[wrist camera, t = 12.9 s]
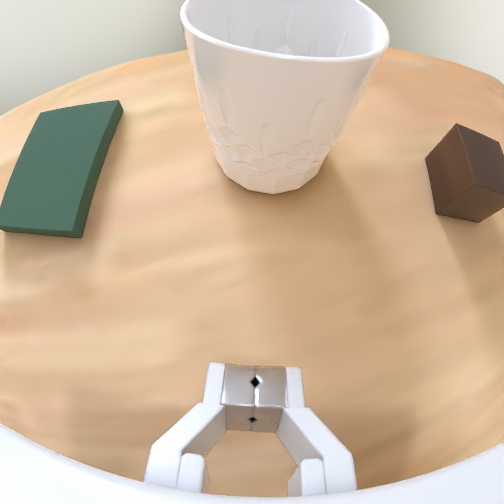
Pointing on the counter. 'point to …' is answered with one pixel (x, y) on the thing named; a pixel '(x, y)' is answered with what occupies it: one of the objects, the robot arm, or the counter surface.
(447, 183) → the walnut block
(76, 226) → the flat green block
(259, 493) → the counter surface
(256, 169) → the white cup
